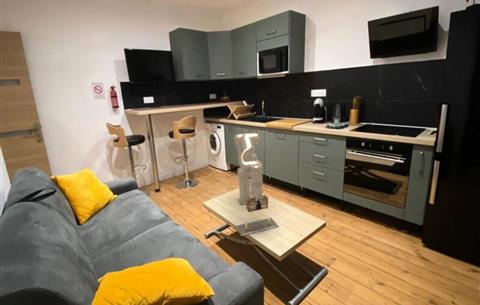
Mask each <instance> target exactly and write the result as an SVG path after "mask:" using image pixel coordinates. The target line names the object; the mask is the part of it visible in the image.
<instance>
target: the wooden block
mask: <svg viewBox="0 0 480 305" xmlns="http://www.w3.org/2000/svg"><path fill="white" fill-rule="evenodd" d="M258 202H259V201H258ZM246 204H247V205H246V211H247V212H248V213H251V212H255V211H256V212H257V211H261V210H265V209H268V208H269V197H268V196H267V195H266V194H264V195H263V199H262V203H261V209H258V210H257V209H256V204H257V201H255V200H254V199H253V197H252V196H251V198H247V199H246Z"/></svg>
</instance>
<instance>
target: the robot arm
mask: <svg viewBox="0 0 480 305" xmlns="http://www.w3.org/2000/svg"><path fill="white" fill-rule="evenodd" d="M233 140H234V144H235V146H236V149H237V158H238V159H237V161H238V164H239V165H240V167H238V168H237V176H238V177H237V178H238V186H239V199H238V200H237V201H238V202H237V203H239V204H240V205H243V206H247V204H246V199H247V198H252V197H253V199H254V200H255V201H257V204H256V209H257V211H259V210H258V209H261V203H262V199H263V165H262V162H261V161H260V160H258V159H259V158H258V155H257V153H256V152H255V151H256V148H255V145H259V144H260V141H261V139H260V135H259V133H258V132H248V133H247V132H246V133H245V132H243V133H238V134H235V135H234V137H233ZM249 178H250V179H249ZM258 201H259V202H258ZM261 210H262V209H261Z"/></svg>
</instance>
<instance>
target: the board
mask: <svg viewBox="0 0 480 305" xmlns="http://www.w3.org/2000/svg"><path fill="white" fill-rule="evenodd" d="M235 228H236V230H237V231H238V233H239V235H240V236H241V237H244V236H245V237H246V236H248V235H253V234H256V233H260V232H261V233H262V232H265V231H268V230H273V229H277V228H280V226H279V225H278V224H277V222H275V220H274V219H273V218H272V217H268V218H263V219H259V220H254V221H250V222H246V223H243V224H238V225H235Z"/></svg>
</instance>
